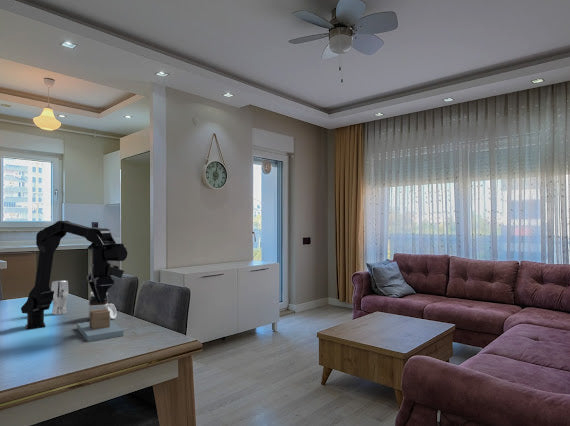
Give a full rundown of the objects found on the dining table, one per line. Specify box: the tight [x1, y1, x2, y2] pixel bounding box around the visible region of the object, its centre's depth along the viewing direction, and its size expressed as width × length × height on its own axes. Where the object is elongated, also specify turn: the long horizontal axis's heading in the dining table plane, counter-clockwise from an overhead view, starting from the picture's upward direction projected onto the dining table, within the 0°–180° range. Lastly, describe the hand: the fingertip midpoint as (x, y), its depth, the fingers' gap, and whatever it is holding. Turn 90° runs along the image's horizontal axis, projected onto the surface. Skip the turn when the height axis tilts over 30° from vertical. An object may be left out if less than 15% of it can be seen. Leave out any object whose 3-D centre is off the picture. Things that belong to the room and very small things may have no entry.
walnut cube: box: [88, 309, 111, 330], centre depth 148 cm, size 6×6×6 cm
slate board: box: [76, 319, 124, 343], centre depth 148 cm, size 22×12×2 cm, turn 37°
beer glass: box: [50, 279, 69, 316], centre depth 180 cm, size 7×7×15 cm
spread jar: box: [88, 291, 118, 320], centre depth 170 cm, size 12×11×12 cm
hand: (99, 301), depth 148 cm, fingers open, 9 cm apart
